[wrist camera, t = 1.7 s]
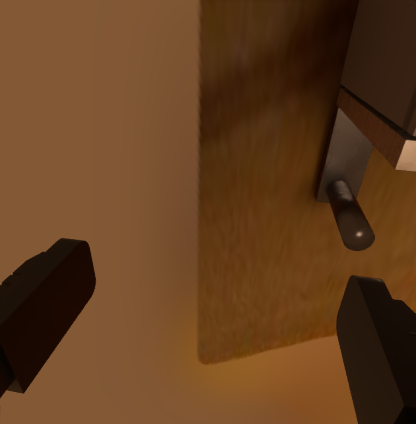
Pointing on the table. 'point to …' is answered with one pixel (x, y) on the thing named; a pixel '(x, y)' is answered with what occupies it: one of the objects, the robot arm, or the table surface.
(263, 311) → the table surface
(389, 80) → the block
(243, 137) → the table surface
